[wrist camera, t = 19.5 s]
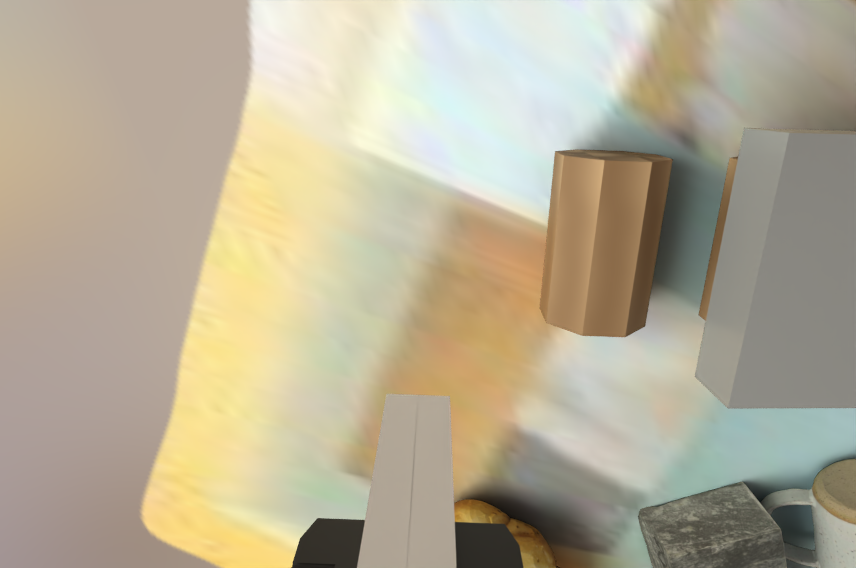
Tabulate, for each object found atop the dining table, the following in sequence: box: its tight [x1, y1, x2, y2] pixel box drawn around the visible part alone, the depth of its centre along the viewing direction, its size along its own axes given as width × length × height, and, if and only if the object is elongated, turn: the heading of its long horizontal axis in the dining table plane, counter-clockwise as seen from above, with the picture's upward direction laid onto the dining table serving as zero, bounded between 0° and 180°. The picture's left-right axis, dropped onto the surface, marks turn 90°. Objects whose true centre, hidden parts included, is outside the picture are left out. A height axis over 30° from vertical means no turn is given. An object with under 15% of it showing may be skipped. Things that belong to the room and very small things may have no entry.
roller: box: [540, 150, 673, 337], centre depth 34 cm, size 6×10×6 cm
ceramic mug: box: [761, 459, 856, 568], centre depth 40 cm, size 11×8×8 cm
